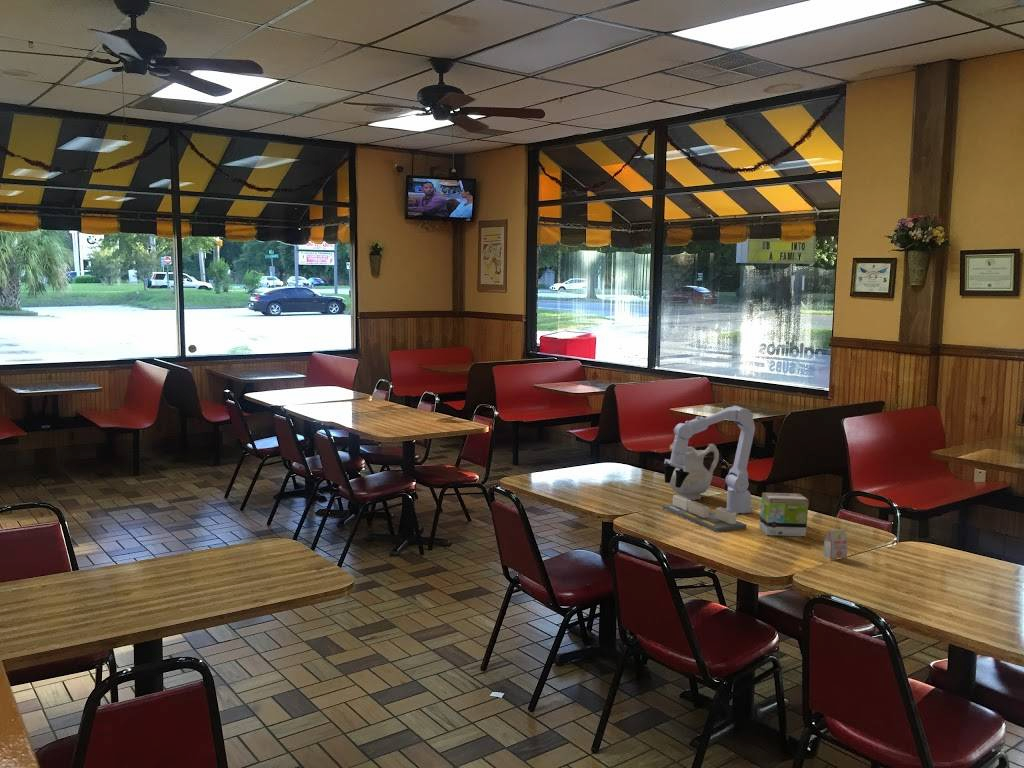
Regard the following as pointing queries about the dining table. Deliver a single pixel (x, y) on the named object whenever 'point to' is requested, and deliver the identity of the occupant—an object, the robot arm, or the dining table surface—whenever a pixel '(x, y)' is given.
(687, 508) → the slider
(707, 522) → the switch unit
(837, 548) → the white gable top carton
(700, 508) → the slider
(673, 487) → the ceramic pitcher
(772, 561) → the dining table surface
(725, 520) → the slider
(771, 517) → the tea box
